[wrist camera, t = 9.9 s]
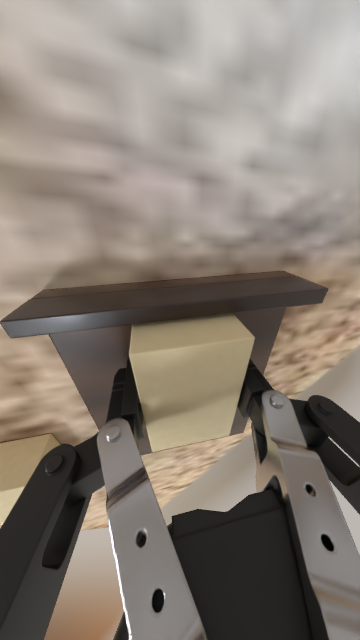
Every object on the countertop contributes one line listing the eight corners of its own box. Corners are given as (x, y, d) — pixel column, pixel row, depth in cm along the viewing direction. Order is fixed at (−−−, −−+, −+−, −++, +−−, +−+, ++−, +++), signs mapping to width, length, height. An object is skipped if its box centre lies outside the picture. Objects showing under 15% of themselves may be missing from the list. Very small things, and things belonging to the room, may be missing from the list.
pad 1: (-14, 445, 14) (-54, 504, 11) (51, 433, 15) (29, 485, 12) (32, 479, 19) (11, 529, 16) (81, 468, 19) (69, 514, 16)
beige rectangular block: (133, 310, 9) (128, 355, 6) (222, 300, 10) (255, 337, 7) (150, 400, 13) (152, 453, 10) (211, 389, 14) (229, 435, 11)
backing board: (41, 289, 9) (-3, 321, 6) (283, 270, 11) (329, 288, 8) (116, 447, 18) (112, 487, 16) (238, 422, 20) (253, 453, 18)
